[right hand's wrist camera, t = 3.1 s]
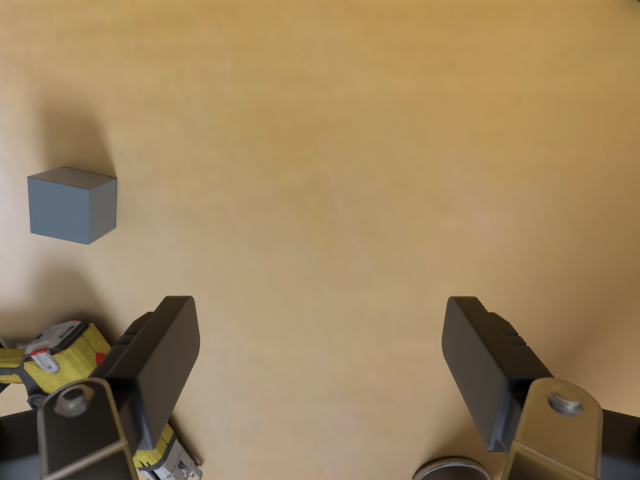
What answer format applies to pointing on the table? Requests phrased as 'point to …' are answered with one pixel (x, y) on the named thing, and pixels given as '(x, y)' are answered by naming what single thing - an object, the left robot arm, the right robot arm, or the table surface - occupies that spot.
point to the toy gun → (78, 363)
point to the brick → (72, 204)
